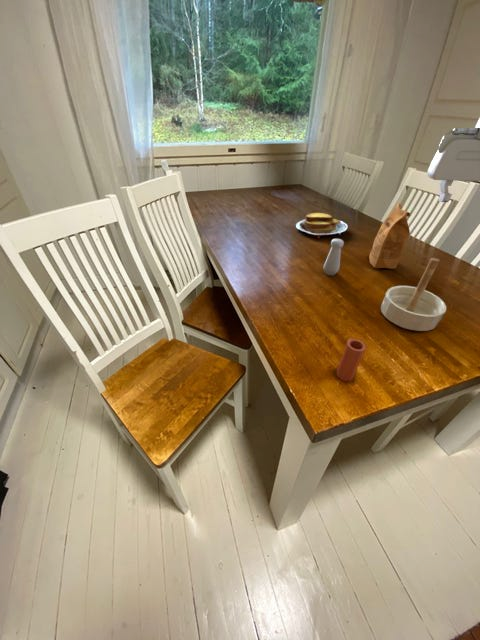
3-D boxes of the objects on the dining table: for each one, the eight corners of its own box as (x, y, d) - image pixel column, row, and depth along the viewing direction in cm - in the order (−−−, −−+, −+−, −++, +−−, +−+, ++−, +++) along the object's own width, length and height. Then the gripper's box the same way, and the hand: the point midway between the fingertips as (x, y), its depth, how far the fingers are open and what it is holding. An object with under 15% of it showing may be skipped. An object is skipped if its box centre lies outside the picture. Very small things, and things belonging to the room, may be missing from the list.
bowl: (439, 312, 85) (448, 296, 81) (433, 340, 75) (443, 323, 71) (386, 296, 91) (392, 280, 88) (374, 319, 81) (380, 303, 78)
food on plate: (325, 244, 124) (328, 230, 120) (285, 228, 139) (286, 215, 135) (356, 231, 137) (359, 217, 133) (316, 218, 152) (318, 206, 148)
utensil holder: (355, 373, 65) (367, 343, 59) (350, 384, 63) (362, 353, 56) (339, 366, 67) (350, 336, 61) (334, 376, 64) (344, 346, 58)
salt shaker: (339, 276, 101) (348, 243, 93) (324, 276, 101) (331, 243, 93) (335, 269, 106) (343, 236, 98) (320, 268, 106) (328, 236, 98)
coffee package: (391, 257, 114) (412, 202, 100) (397, 272, 105) (422, 213, 91) (366, 255, 116) (383, 201, 102) (370, 269, 106) (390, 211, 92)
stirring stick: (412, 313, 83) (440, 259, 71) (411, 316, 81) (439, 261, 70) (404, 311, 84) (431, 257, 72) (403, 314, 82) (430, 259, 71)
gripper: (454, 128, 52) (423, 204, 60) (570, 131, 50) (520, 208, 59) (439, 126, 57) (411, 196, 65) (543, 128, 55) (501, 200, 64)
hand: (464, 202), depth 62 cm, fingers open, 8 cm apart
